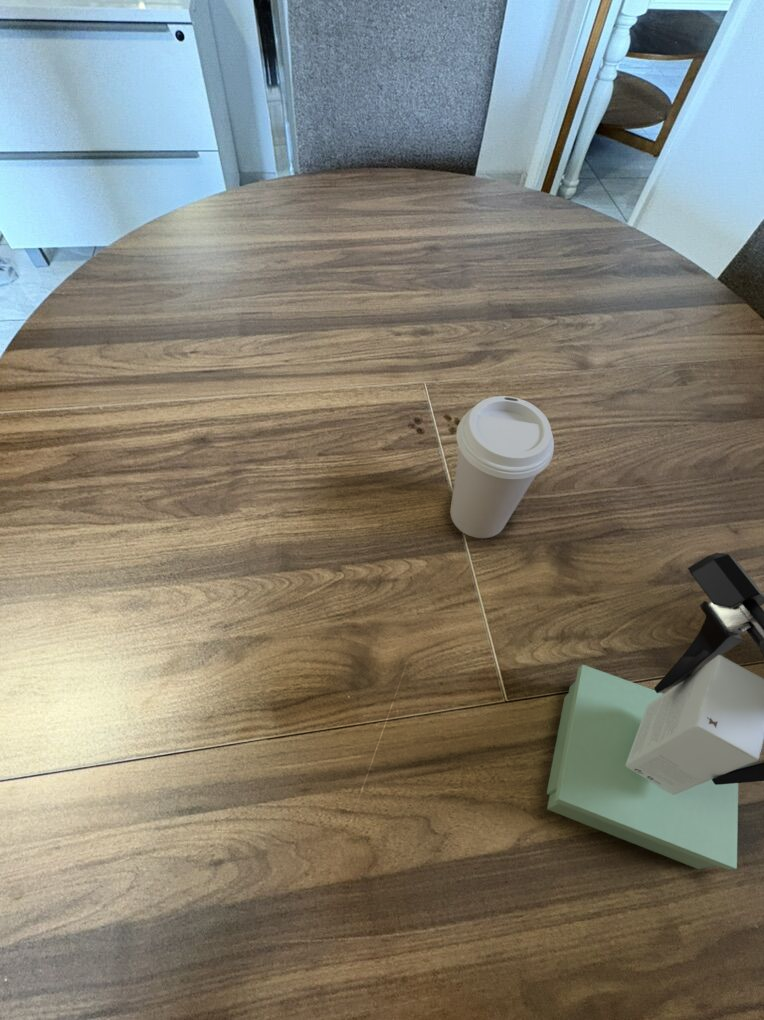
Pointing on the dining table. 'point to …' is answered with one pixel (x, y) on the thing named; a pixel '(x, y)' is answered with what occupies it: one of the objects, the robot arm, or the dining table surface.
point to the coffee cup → (497, 462)
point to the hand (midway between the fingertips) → (684, 734)
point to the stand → (633, 779)
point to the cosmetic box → (701, 728)
